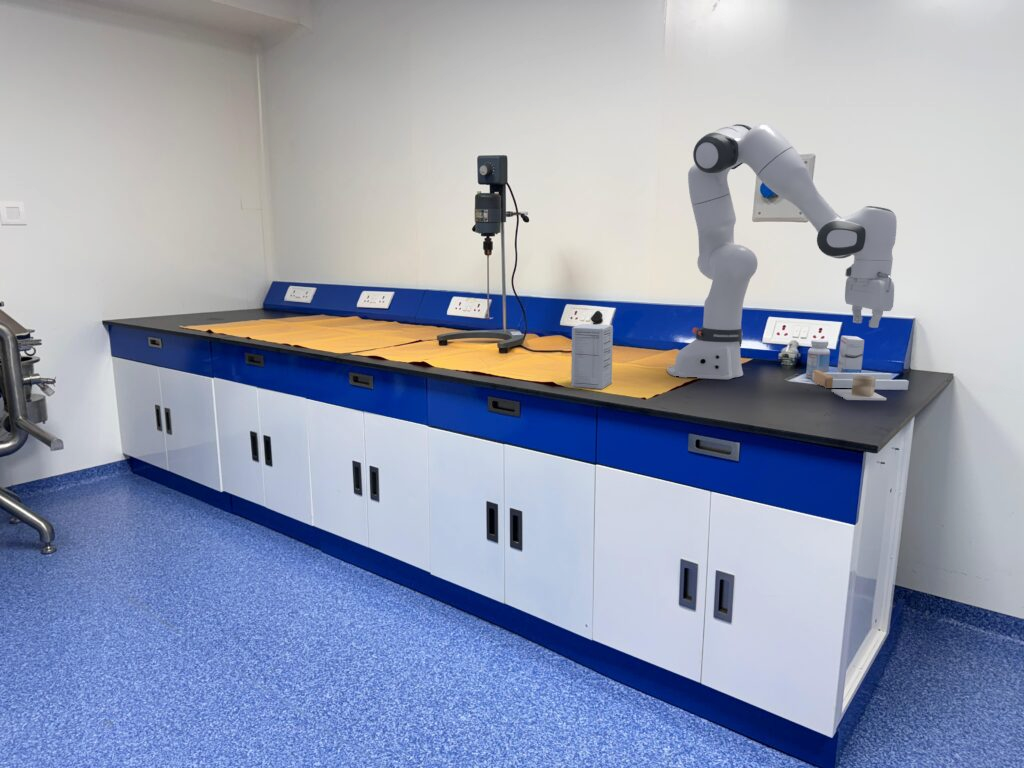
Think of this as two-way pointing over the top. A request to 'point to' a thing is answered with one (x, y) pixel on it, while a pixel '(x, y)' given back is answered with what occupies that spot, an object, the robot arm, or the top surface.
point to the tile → (848, 395)
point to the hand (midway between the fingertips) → (865, 325)
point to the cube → (863, 385)
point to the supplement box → (592, 356)
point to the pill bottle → (818, 357)
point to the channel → (846, 379)
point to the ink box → (850, 354)
